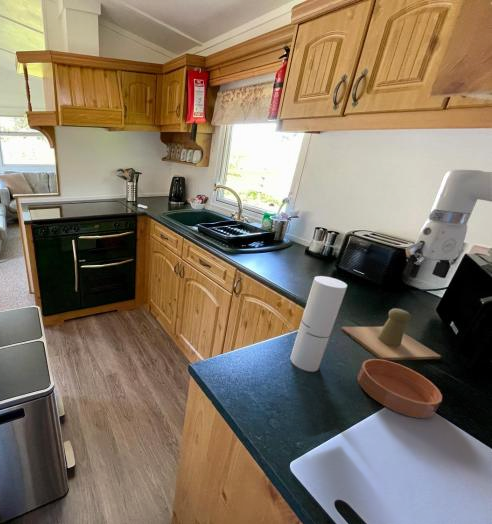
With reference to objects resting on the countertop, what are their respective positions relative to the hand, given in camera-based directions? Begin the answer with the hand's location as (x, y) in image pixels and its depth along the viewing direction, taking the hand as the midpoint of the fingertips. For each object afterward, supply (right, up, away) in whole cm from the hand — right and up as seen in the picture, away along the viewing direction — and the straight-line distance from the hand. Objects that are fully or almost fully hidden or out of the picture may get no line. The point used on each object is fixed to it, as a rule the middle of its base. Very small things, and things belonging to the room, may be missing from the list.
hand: (423, 276), depth 83 cm
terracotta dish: (-19, -29, -11) cm, 36 cm away
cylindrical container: (-36, -24, -2) cm, 44 cm away
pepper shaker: (-2, -21, +9) cm, 23 cm away
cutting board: (-2, -22, +10) cm, 24 cm away
